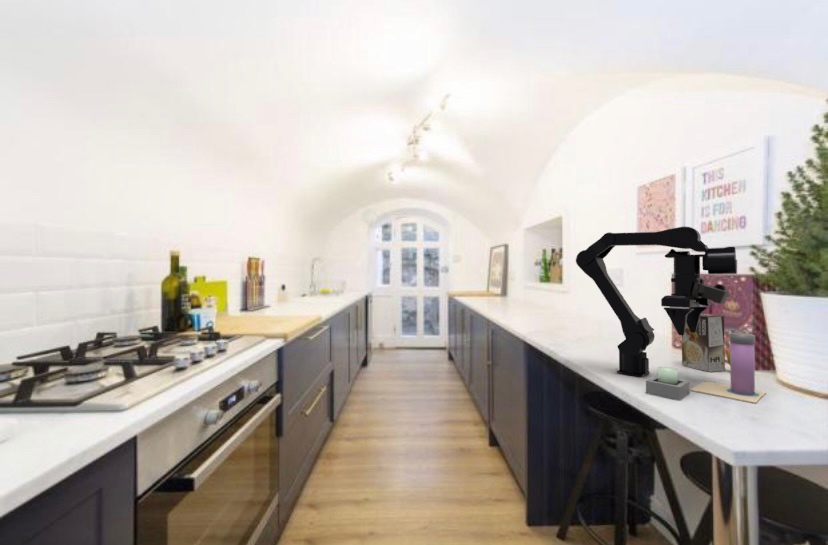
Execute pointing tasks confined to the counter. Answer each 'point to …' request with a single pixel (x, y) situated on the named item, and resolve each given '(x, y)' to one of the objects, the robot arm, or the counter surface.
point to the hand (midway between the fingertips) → (687, 333)
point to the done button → (668, 375)
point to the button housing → (668, 388)
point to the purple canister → (742, 363)
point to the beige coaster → (727, 392)
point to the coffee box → (705, 344)
